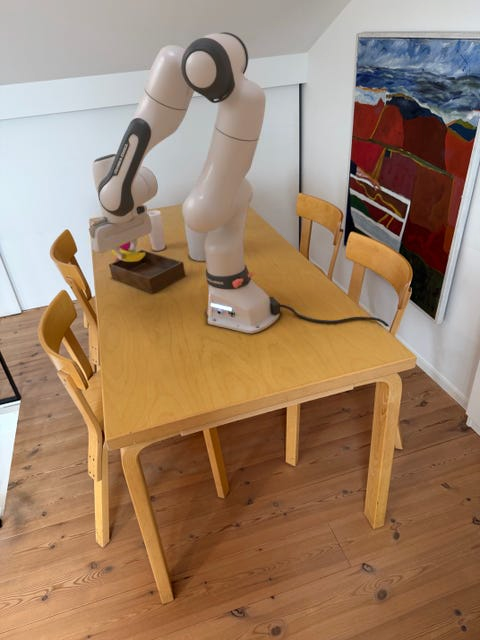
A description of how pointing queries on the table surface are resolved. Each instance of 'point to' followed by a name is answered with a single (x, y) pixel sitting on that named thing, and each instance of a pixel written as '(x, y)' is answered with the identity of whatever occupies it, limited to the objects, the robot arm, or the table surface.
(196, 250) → the utensil holder
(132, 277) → the tray
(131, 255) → the banana
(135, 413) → the table surface
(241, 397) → the table surface
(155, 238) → the drinking glass
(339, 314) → the table surface
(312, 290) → the table surface
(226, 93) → the robot arm
